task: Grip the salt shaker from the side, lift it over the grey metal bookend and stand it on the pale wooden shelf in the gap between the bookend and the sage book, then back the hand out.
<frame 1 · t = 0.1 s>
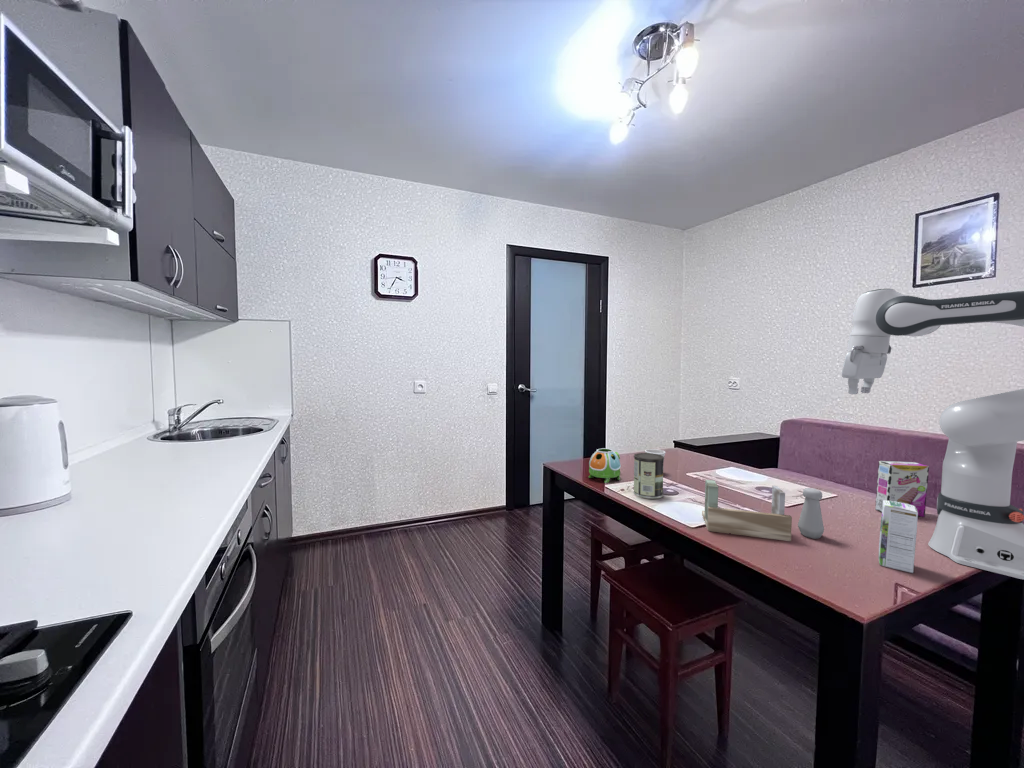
hand: (859, 393, 115), 39 cm above the table, tool pointing down, fingers open, 8 cm apart
turtle holder: (605, 478, 162), on the table
salt shaker: (810, 536, 108), on the table
syrup box: (895, 566, 92), on the table
candy bar box: (900, 514, 124), on the table
dixie cup: (654, 474, 168), on the table
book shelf: (742, 527, 113), on the table
coffee can: (647, 494, 142), on the table
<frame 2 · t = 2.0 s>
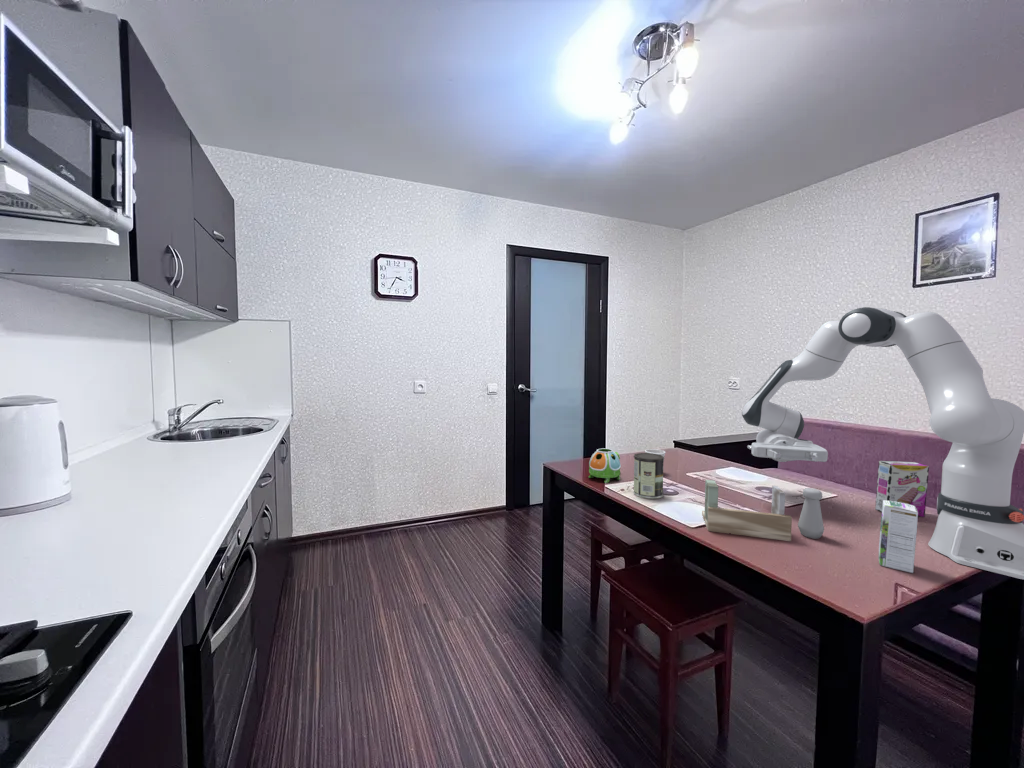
hand: (796, 457, 119), 19 cm above the table, tool horizontal, fingers open, 8 cm apart
nothing on the table moved.
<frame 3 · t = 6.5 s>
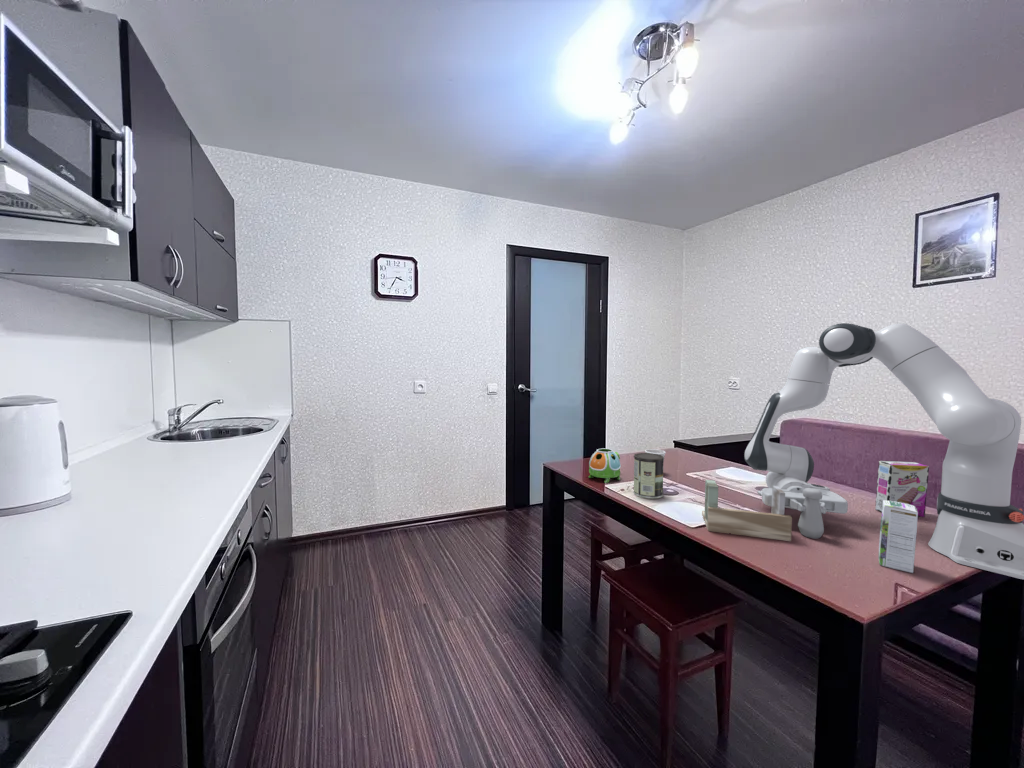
hand: (813, 509, 107), 8 cm above the table, tool horizontal, fingers closed on salt shaker, 3 cm apart
salt shaker: (810, 536, 108), on the table, touching gripper
everything else where it was.
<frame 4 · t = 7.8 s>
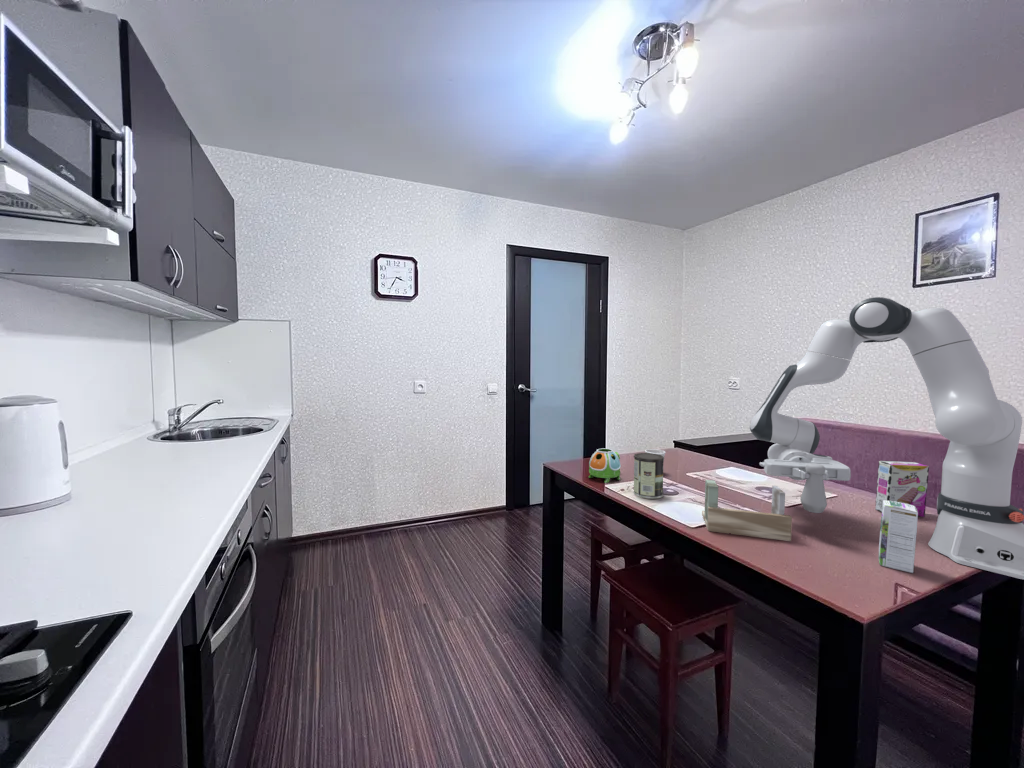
hand: (815, 476, 106), 17 cm above the table, tool horizontal, fingers closed on salt shaker, 3 cm apart
salt shaker: (813, 510, 108), point 7 cm above the table, touching gripper
everything else where it was.
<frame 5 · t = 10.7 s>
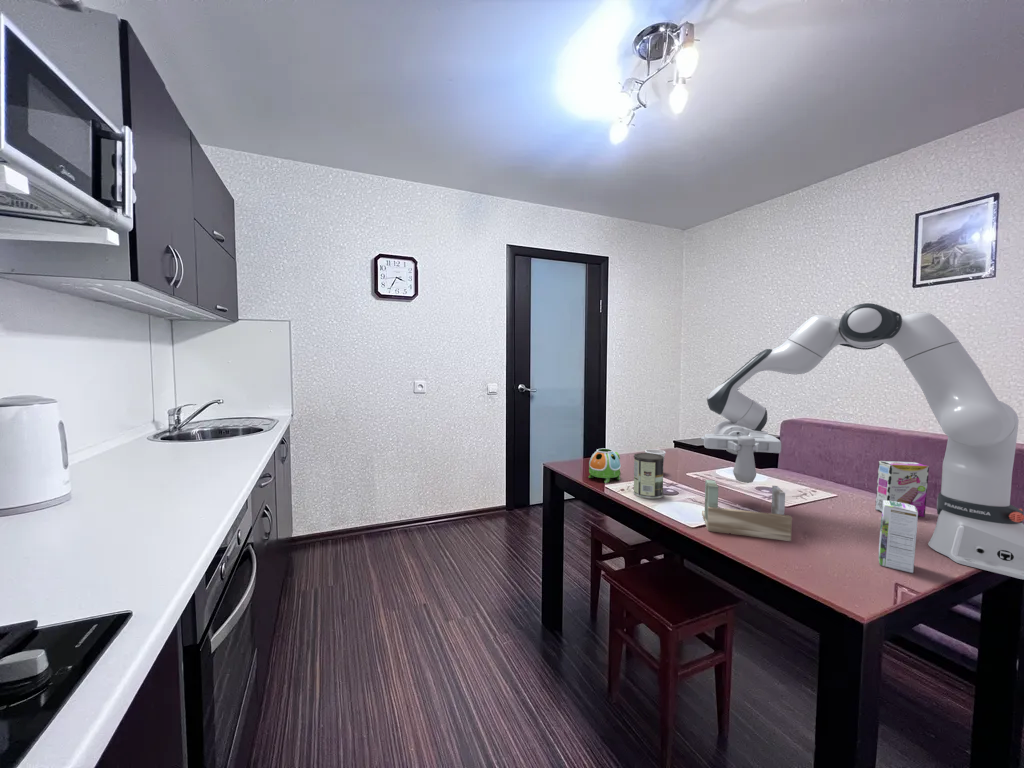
hand: (746, 448, 111), 23 cm above the table, tool horizontal, fingers closed on salt shaker, 3 cm apart
salt shaker: (744, 481, 113), point 13 cm above the table, touching gripper
everything else where it was.
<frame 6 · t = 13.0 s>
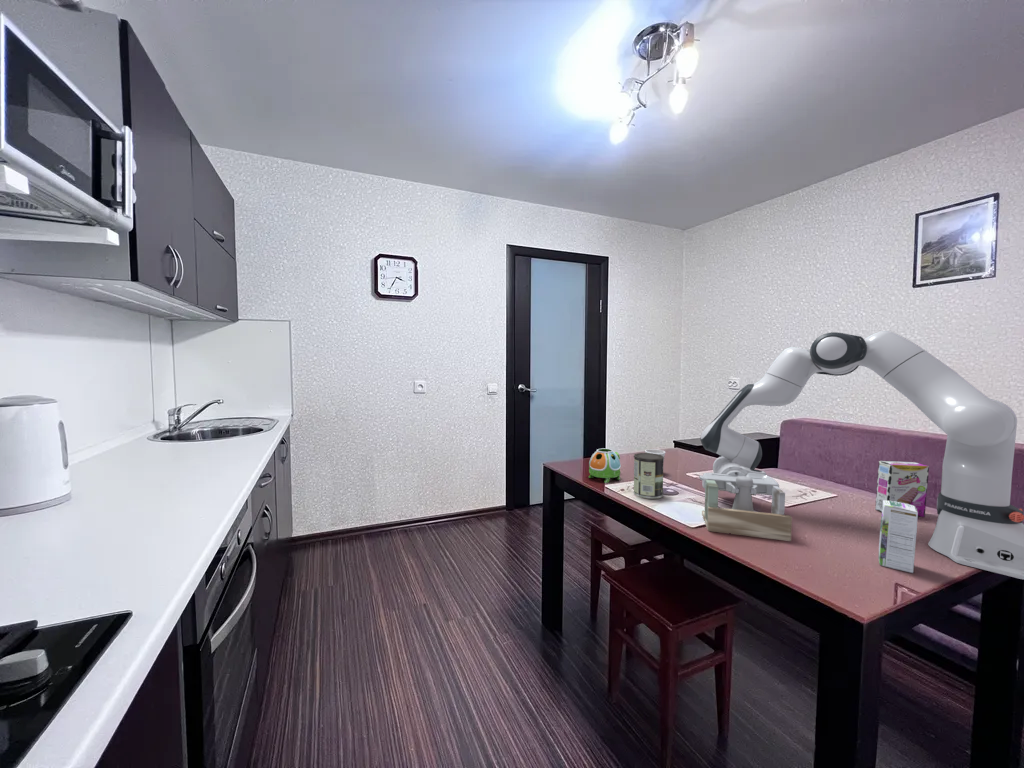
hand: (744, 491, 112), 11 cm above the table, tool horizontal, fingers closed on salt shaker, 3 cm apart
salt shaker: (742, 521, 114), point 2 cm above the table, touching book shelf, gripper
everything else where it was.
when the fingers open (11 cm above the table, at t = 13.6 s): salt shaker stays where it is, resting on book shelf.
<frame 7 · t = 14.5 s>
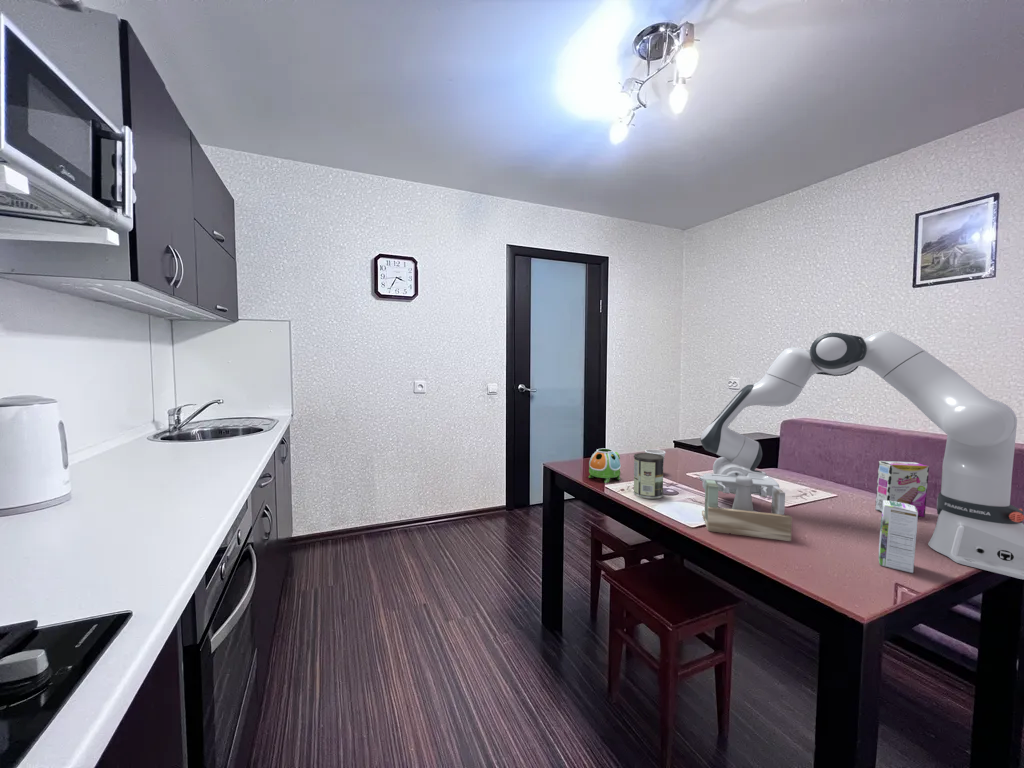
hand: (744, 492, 112), 11 cm above the table, tool horizontal, fingers open, 8 cm apart
salt shaker: (742, 521, 114), point 1 cm above the table, touching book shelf
everything else where it was.
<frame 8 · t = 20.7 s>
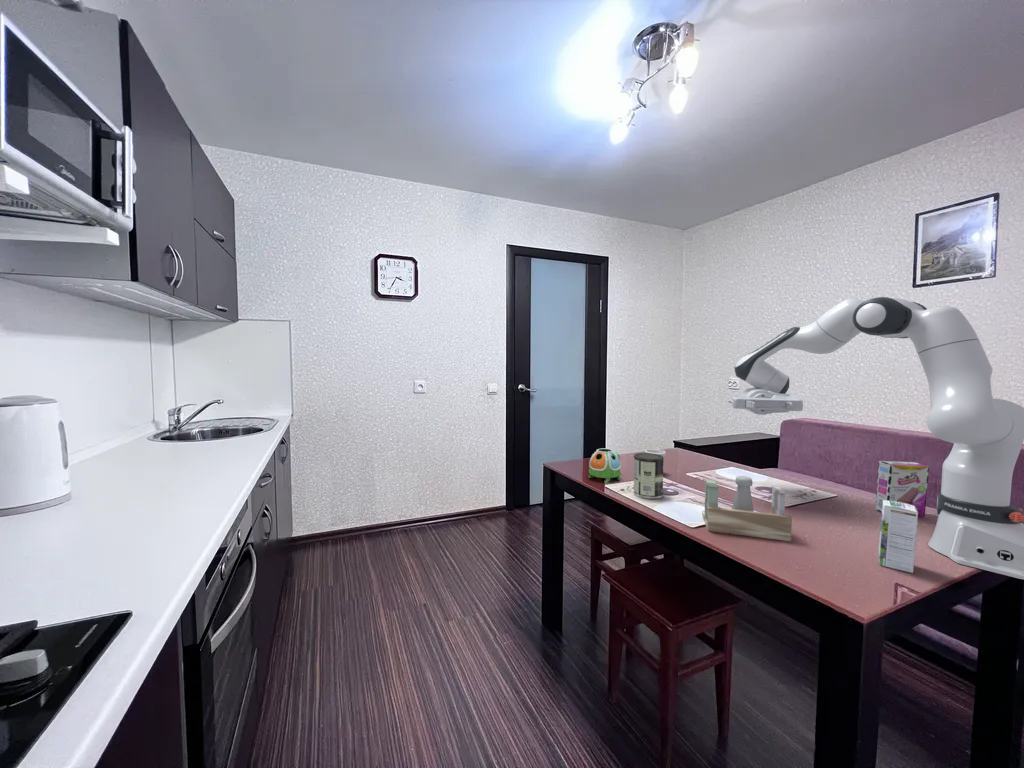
hand: (772, 405, 125), 34 cm above the table, tool horizontal, fingers open, 8 cm apart
nothing on the table moved.
at the end: salt shaker 0.7 cm off-centre on the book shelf, point 1.5 cm above the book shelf's base; salt shaker tilted 0°; the gripper is holding nothing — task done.
